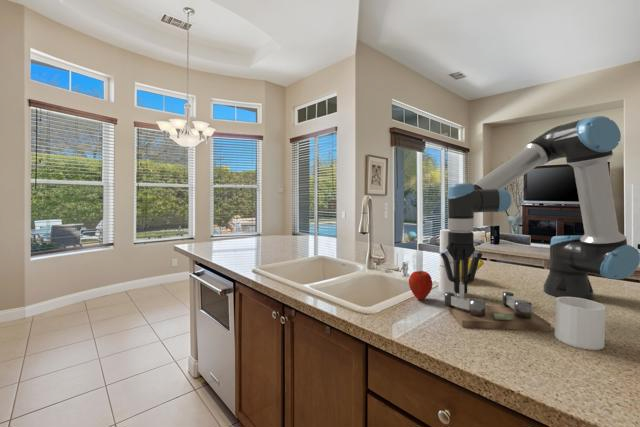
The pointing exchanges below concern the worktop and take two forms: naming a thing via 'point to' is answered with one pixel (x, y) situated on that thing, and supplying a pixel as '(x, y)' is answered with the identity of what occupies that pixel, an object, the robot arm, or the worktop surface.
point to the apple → (420, 284)
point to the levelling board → (498, 324)
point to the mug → (580, 322)
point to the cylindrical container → (444, 282)
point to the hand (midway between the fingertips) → (460, 302)
